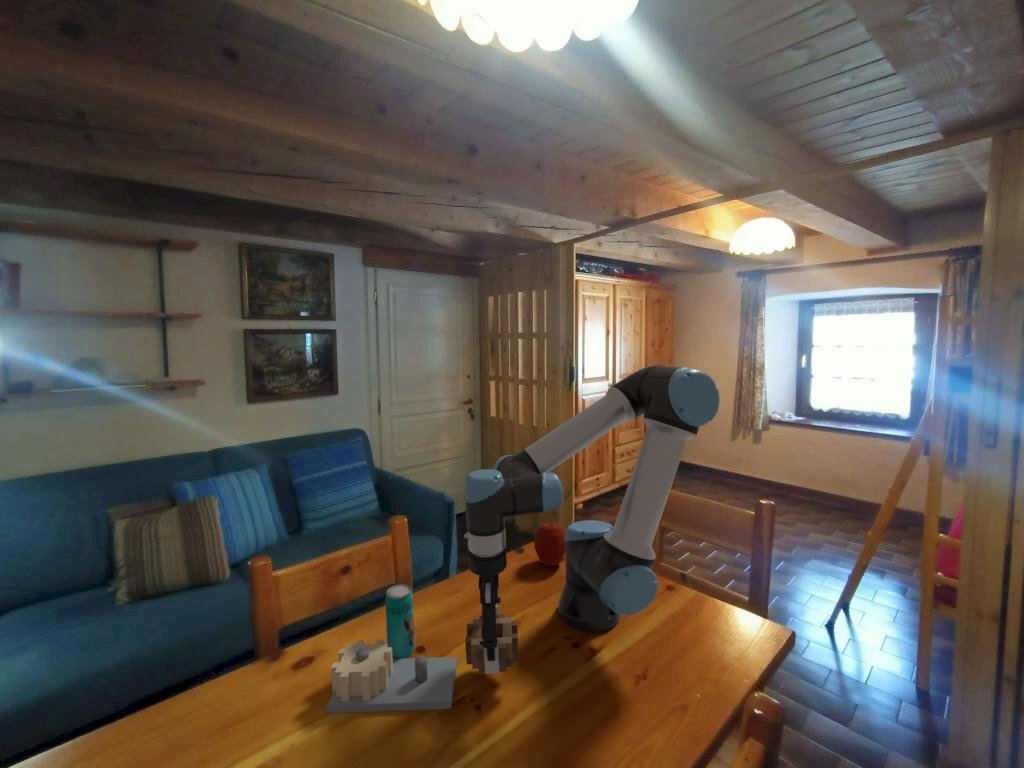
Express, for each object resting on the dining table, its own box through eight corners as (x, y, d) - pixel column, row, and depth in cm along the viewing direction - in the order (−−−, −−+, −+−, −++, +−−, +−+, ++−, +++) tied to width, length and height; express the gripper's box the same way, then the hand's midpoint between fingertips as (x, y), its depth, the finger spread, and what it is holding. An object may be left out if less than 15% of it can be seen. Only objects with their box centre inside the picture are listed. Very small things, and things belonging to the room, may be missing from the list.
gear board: (457, 663, 98) (456, 630, 98) (451, 708, 86) (450, 671, 86) (347, 666, 98) (345, 633, 97) (326, 712, 86) (324, 675, 85)
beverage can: (408, 666, 98) (405, 599, 96) (383, 662, 99) (380, 596, 97) (418, 648, 103) (416, 584, 102) (395, 645, 104) (392, 582, 103)
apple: (571, 570, 136) (571, 525, 135) (538, 573, 135) (538, 528, 133) (562, 554, 147) (562, 512, 145) (531, 557, 145) (530, 514, 143)
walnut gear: (517, 635, 99) (516, 613, 98) (519, 670, 89) (518, 646, 88) (469, 638, 99) (467, 616, 98) (465, 673, 88) (464, 649, 88)
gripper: (471, 525, 102) (477, 618, 105) (463, 581, 80) (470, 698, 82) (505, 523, 103) (509, 616, 105) (506, 578, 80) (512, 695, 82)
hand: (492, 652), depth 94 cm, fingers closed on walnut gear, 10 cm apart
